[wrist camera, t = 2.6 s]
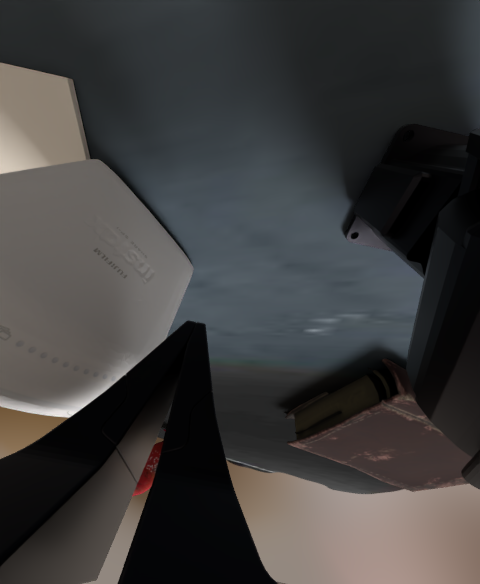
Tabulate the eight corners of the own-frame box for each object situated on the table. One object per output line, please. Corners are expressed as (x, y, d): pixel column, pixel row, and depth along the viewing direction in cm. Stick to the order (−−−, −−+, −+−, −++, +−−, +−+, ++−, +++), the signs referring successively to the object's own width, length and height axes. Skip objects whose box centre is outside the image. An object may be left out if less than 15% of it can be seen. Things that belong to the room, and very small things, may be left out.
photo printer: (204, 269, 18) (142, 437, 8) (167, 289, 19) (78, 451, 9) (100, 144, 13) (-437, 173, 3) (62, 185, 14) (-372, 297, 4)
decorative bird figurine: (145, 418, 38) (113, 491, 30) (230, 444, 42) (221, 516, 34) (142, 423, 40) (111, 494, 32) (224, 447, 43) (215, 517, 35)
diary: (385, 349, 22) (412, 395, 18) (516, 421, 28) (560, 469, 24) (281, 412, 32) (284, 450, 28) (393, 455, 38) (408, 493, 34)
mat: (72, 79, 11) (67, 77, 11) (121, 300, 21) (119, 303, 21) (-114, 37, 11) (-126, 33, 11) (22, 280, 21) (18, 282, 20)
